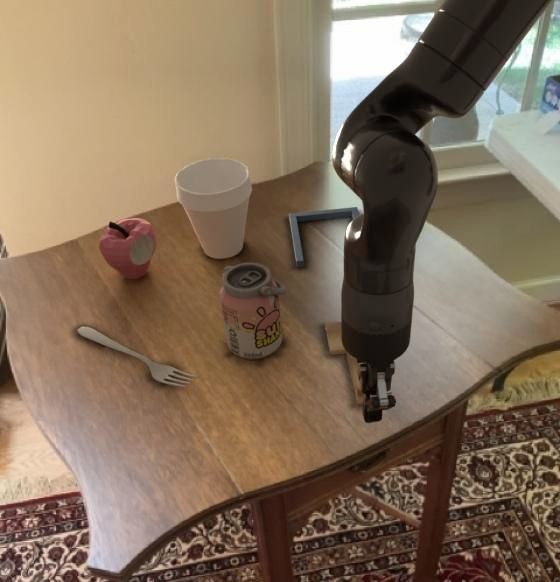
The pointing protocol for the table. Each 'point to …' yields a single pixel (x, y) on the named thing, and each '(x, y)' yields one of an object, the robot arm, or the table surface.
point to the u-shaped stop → (314, 216)
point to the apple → (129, 246)
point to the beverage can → (251, 310)
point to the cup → (216, 203)
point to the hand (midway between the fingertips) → (371, 417)
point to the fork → (157, 370)
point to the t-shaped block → (337, 348)
